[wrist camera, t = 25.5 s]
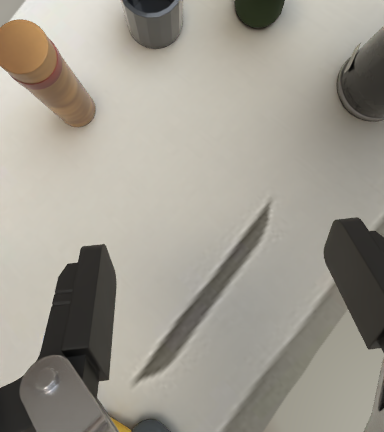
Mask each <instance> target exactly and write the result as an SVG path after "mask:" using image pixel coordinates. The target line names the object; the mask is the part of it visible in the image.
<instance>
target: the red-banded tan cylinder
mask: <svg viewBox="0 0 384 432" xmlns="http://www.w3.org/2000/svg"><path fill="white" fill-rule="evenodd" d="M0 66H1V67H2V68H3V69H4V70H5V71H7V72H8V73H9V74H10V76H11V77H12V78H13V79H14V80H16V81H17V82H18V83H19V84H20V85H22V86H24V87H25V88H26V89H27V90H29V91H30V92H31V93H32V94H33V95H34V96H35V97H37V98H38V99H39V100H40V101H41V102H42V103H44V104H45V105H46V106H47V107H48V108H49V109H50V110H52V111H53V112H54V113H55V114H56V115H57V116H58V117H60V118H61V119H62V120H63V121H64V122H65V123H67V124H68V125H70V126H73V127H82V126H85V125H87V124H88V123H89V122H90V121H91V120H92V119H93V117H94V115H95V103H94V101H93V99H92V98H91V97H90V95H89V94H88V93H87V91H86V90H85V88H84V87H83V86H82V84H81V83H80V81H79V80H78V79H77V77H76V76H75V74H74V73H73V72H72V70H71V69H70V68H69V66H68V65H67V63H66V62H65V61H64V59H63V58H62V56H61V55H60V53H59V51H58V49H57V48H56V47H55V45H54V44H53V42H52V41H51V40H50V39H49V38H48V37H47V36H46V34H45V33H44V31H43V30H42V29H41V28H40V27H39V26H38V25H36V24H35V23H33V22H30V21H27V20H13V21H10V22H8V23H6V24H4V25H3V26H2V27H0Z"/></svg>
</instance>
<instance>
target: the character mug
mask: <svg viewBox="0 0 384 432" xmlns="http://www.w3.org/2000/svg"><path fill="white" fill-rule="evenodd" d="M284 1H285V0H235V7H236V12H237V15H238V16H239V17H240V19H241V20H242V22H243V23H245V24H247V25H249V26H251V27H265V26H267V25H269V24H271V23H273V22H274V21H275V20H276V19H277V18H278V17H279V15H280V14H281V11H282V8H283V5H284Z"/></svg>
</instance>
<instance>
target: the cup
mask: <svg viewBox="0 0 384 432" xmlns="http://www.w3.org/2000/svg"><path fill="white" fill-rule="evenodd" d="M121 4H122V8H123V11H124V15H125V19H126V22H127V26H128V28H129V31H130V33H131V35H132V37H133V38H134V39H135V40H136V41H137V42H138V43H139V44H141V45H143V46H145V47H148V48H153V49H158V48H163V47H166V46H168V45H170V44H171V43H173V42H174V41H175V40H176V39H177V37H178V36H179V34H180V32H181V29H182V24H183V0H121Z"/></svg>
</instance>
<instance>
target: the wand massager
mask: <svg viewBox="0 0 384 432" xmlns="http://www.w3.org/2000/svg"><path fill="white" fill-rule="evenodd" d="M110 418H111V417H110ZM111 419H112V421H113V423H114V424H115V426H116V427H117V429H118V430H119V432H170V431H169V430H168V429H167V427H165V426H164V425H163V424H162V423H161V422H159V421H157V420H153V419H149V420H145V421H142V422H140V423H139V424H138V425H136V426H135V427H134V429H133V430H130V429H129V428H127V427H126V426H124V425H123V424H121V423H120V422H118V421H116V420H115V419H113V418H111Z"/></svg>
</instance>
